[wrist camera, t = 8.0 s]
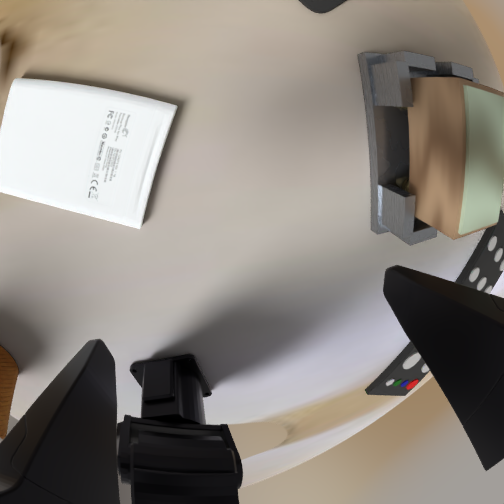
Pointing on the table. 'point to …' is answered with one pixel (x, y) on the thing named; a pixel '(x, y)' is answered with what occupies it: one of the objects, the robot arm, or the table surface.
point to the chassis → (396, 136)
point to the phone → (321, 5)
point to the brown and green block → (456, 154)
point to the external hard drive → (82, 148)
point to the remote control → (473, 275)
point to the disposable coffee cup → (6, 388)
